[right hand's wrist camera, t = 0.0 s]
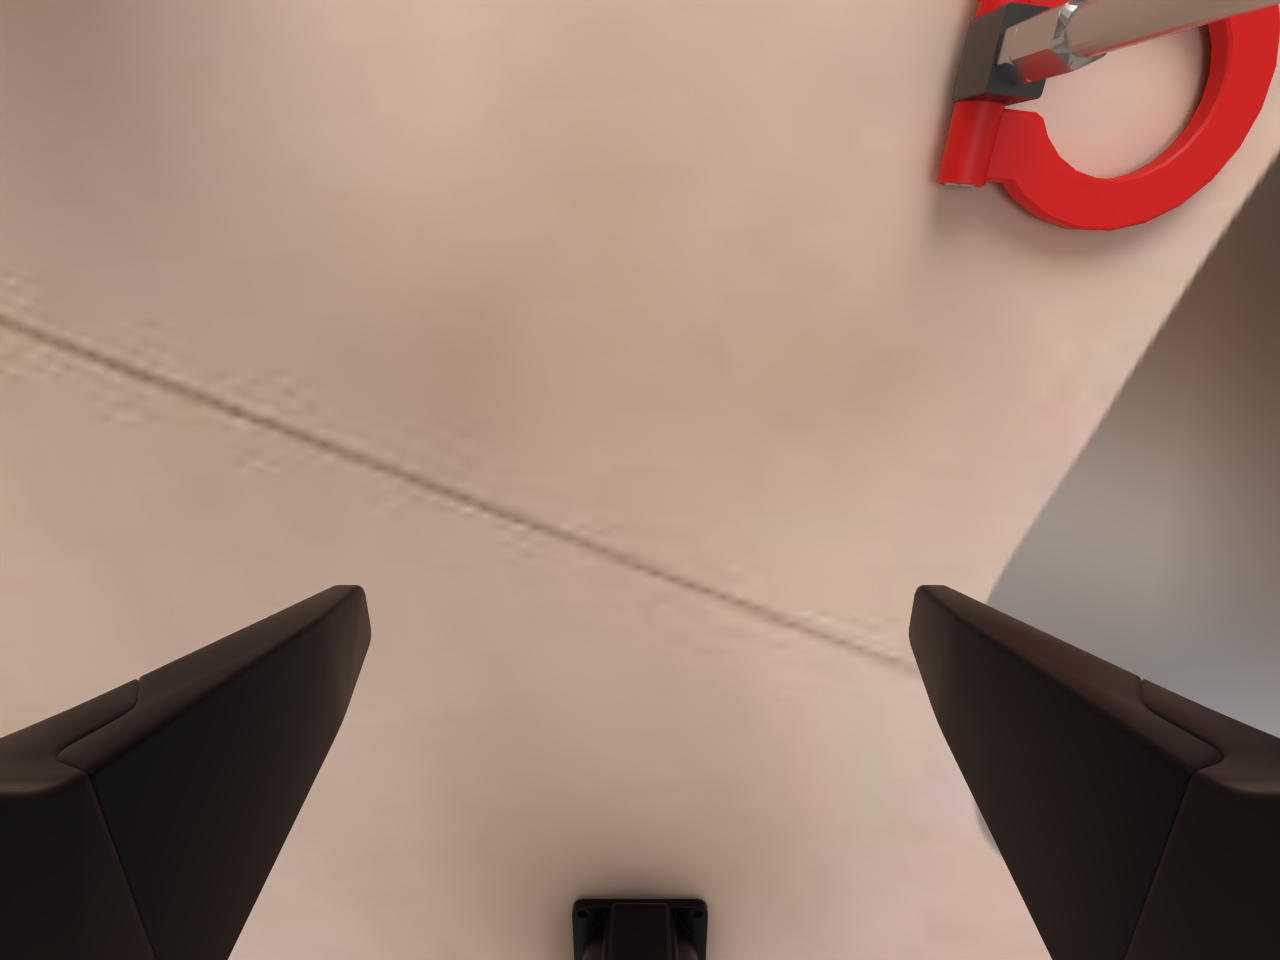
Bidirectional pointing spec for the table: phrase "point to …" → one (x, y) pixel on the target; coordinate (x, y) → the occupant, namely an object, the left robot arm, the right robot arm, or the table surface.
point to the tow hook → (1069, 39)
